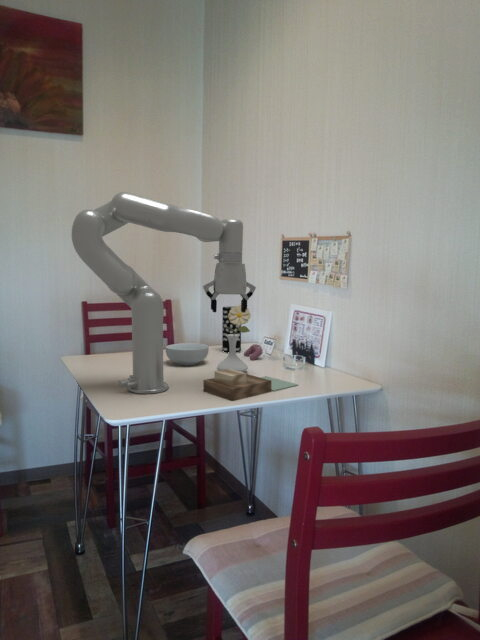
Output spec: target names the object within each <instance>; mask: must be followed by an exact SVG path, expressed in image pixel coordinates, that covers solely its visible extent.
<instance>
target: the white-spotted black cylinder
mask: <svg viewBox="0 0 480 640" xmlns="http://www.w3.org/2000/svg"><path fill="white" fill-rule="evenodd" d="M234 307H235V306H222V327H221V328H222V329H221V330H222V331H221V332H222V344H221V345H222V350H221V352H222V351H224V352H229V350H230V348H229V341H228V338H227V337H226V335H228V334H234V333H235V332H236V331H237V329H238V327H239V326H238V325H236V324H235V325H234V324H233V323H230V320H229V317H228V314H229V312H230V310H231V308H234ZM227 327H229V328H231V329H233V330H234V331H233V330H231V329H229V328H227ZM240 327H242V325H240ZM240 327H239V328H240ZM236 334H237V335H240V336H239V337H238V339H237V341H236V352H239V351H241V352H242V332H241V331H240V330H239V329H238V331H237V332H236ZM224 352H223V353H224ZM239 353H240V352H239Z"/></svg>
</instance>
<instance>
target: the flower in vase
mask: <svg viewBox="0 0 480 640" xmlns="http://www.w3.org/2000/svg"><path fill="white" fill-rule="evenodd" d="M233 307H234V308H231V310H230V312H229V314H228V317H229V320H230V323H233V324H234V325H235V324H236V325H238V326H239V327H240V325H241V327H240V328H239V327H238V329H239V330H240V331H241V334H243V333H249V332H251V330H250V329H249V328H248V327H247V326H246V324H247V323H248V322H249V320H250V319H251V317H252V314H251V311H250V308H249V307H247V310H246V312H245V313H244V312H242V311H241V304H239V305H235V306H233ZM227 328H229V327H227ZM229 329H231V328H229ZM238 329H237V331H238ZM231 330H233V329H231ZM233 331H234V330H233ZM237 331H236V332H237ZM236 332H235V333H234V334H228V335H226V337H227V338H228V341H229V348H230V350H229V353H228V355H227V356H226V357H225V358H224V359H223V360H222V361H220V363H218V364H217V366H216V369H217V371H220V370H225V369H232V370H236V371H240V372H243V373H245V372H246V371H248V369H249V368H248V365H247V364H246V362H245V361H243V360H242V359H241V358H240V357H239V356H238V355H237V353H236V341H237V339H238V337H239V336H240V335H237V334H236Z"/></svg>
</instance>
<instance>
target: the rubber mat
mask: <svg viewBox="0 0 480 640" xmlns="http://www.w3.org/2000/svg"><path fill="white" fill-rule="evenodd" d="M260 378H264V379H267V380H271V381H272V383H271V392H274V393H275V392H278V391H282V390H287V389H290V388H294V387H297V386H299V384H297V383H293V382H290V381H286V380H283V379H280V378H279V379H278V378H275V377H271V376H267V375H265V376H260Z"/></svg>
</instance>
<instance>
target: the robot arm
mask: <svg viewBox="0 0 480 640" xmlns="http://www.w3.org/2000/svg"><path fill="white" fill-rule="evenodd" d="M128 223H130V224H134V225H137V226H140V227H144V228H148V229H152V230H156V231H158V232H164V233H176V234H177V233H178V234H182V235H187V236H190V237H194V238H196V240H198V241H200V242H203V243H213V242H218V253H217V254H214V255H213V256H214V257H213V259H214V260H217V261H218V262H216V265H215V269H214V276H213V280H212V281H210V282H208V283H206V284H203V286H202V289H203V291H204V292H205V295H206V296H208V298H209V299H210V310H212V312H213V313H217V308H218V307H217V302H218V300H217V298H218V296H219V295H240V297H241V302H240V305H241V311H242V312H244V313H245V312H246V310H247V308H248V300H249V299H250V298H251V297H252V296H253V295H254V293H255V292H256V289H257V287H256V286H255V285H254V284H251V283H250V282H248V281H247V272H246V264H245V263H243V244H244V243H243V241H244V240H243V234H244V223H243V221H242V220H239V219H236V218H235V219H234V218H233V219H231V218H230V219H229V218H227V219H226V218H225V219H222V220H220V219H219V218H218V217H216V216H214V215H211V214H209V213H204V212H202V211H201V212H200V211H197V210H194V209H190V208H186V207H182V206H177V205H174V204H169V203H165V202H162V201H159V200H155V199H153V198H148V197H144V196H142V195H137V194H135V193H130V192H126V191H124V192H123V191H121V192H119V193H116V194H114V195H113V197H112V199H111V200H110V201H109V202H107V203H105V204H102V205H101V206H99V207H96V208H95V209H89V208H88V209H83V210H81V211H80V212H79V213H78V214H77V215H76V216H75V218H74V220H73V223H72V227H71V242H72V246H73V248H74V250H75V253H76V254H77V256H78V257H79V259H81V261H82V262H83V263H84V264H85V265H86V266H87V267H88V268H89V269H90V270H91V271H92V272H93V273H94V274H95V275H96V276H97V277H98V278H99V279H100V280H101V281H102V282H103V284H105V285H106V286H107V288H108V289H109V290H110V291H111V292H112V293H114V294H116V295H117V296H118V298H120V299H121V300H122V301H123V302H124V303H125V304H126V305H127V306H128V307H130V309H131V341H132V349H131V350H132V375H129V378H127V379H124V380H123V379H122V380H118V387H119V388H123V387H127V390H128V391H129V392H130V391H131V393H133V392H134V394H139V395H140V394H143V395H145V394H147V395H149V394H159V393H162V392H163V393H164V392H165V391H167V390H169V386H170V385H169V384H168V382H166V381H164V315H165V314H164V312H165V311H164V301H163V298H162V297H161V295H160V294H159V292H158V291H156V290H155V289H153V288H152V287H151V286H150V284H149V283H147V282H146V280H144V279H143V278H142V277H141V276H140V275H139V273H138V272H136V271H135V269H133V267H131V265H128V264H127V263H125V261H123V260H122V259H121V258H120V257H119V256H118V255H117V254H116V253H115V251H113V249H112V248H111V247H109V246H108V244H107V243H106V242H105V240H104V238H103V237H105V236H107V235H108V234H110V233H112V232H115V231H116V230H119V229H120V228H122V227H125V225H128ZM211 287H212V288H213V293H212V292H211V291H210V290H209V289H210V288H211ZM247 288H249V291H247Z"/></svg>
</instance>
